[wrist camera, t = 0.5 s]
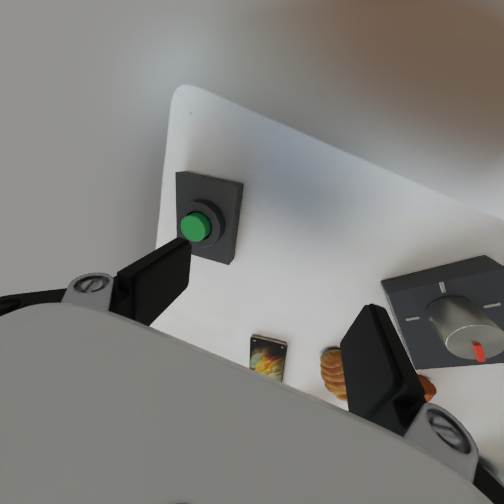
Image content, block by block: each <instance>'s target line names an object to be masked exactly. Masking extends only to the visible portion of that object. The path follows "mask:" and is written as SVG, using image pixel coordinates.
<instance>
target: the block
mask: <svg viewBox="0 0 504 504" xmlns="http://www.w3.org/2000/svg"><path fill="white" fill-rule="evenodd" d="M242 191H243V184H241V183H237V182H232V181H227V180H223V179H218V178H213V177H209V176H204V175H199V174H195V173H190V172H185V171H183V172H176V213H177V237H181V238H184V239H187V238H186V237H185V236H184V234H183V233H182V230H181V221H182V219H183V218H184V217H186V216H188V215H190V214H192V213H195V212H198V213H202V214H203V215H205V216H206V217H207V218H208V220H209V221H210V224H211V230H210V233H209V234H208V235H207V236H206V237H205V238H203V239H202V240H201V241H197V242H194V241H191V240H189V239H187V240H189V241H190V244H192V251H191V254H192V255H196V256H199V257H202V258H206V259H209V260H213V261H216V262H220V263H223V264H227V265H229V264H230V263H231V262H232V260H233V259H234V252H235V244H236V237H237V229H238V221H239V214H240V206H241V199H242Z"/></svg>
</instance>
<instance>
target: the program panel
mask: <svg viewBox="0 0 504 504" xmlns="http://www.w3.org/2000/svg"><path fill="white" fill-rule="evenodd" d="M381 284H382V287H383V289H384V292H385V295H386V297H387V300H388V303H389V305H390V308H391V311H392V313H393V316H394V319H395V321H396V324H397V327H398V329H399V332H400V335H401V337H402V340H403V343H404V345H405V348H406V351H407V353H408V355H409V357H410V359H411V361H412V364H413V366H414V368H415V369H416V370H418V369H431V368H444V367H456V366H469V365H482V364H495V363H504V351H503V352H501V353H500V354H498V355H496V356H493V357H490V358H486V359H485V360H486V362H478V361H477V360H472V359H465V358H461V357H458V356H456V355H454V354H452V353H451V352H450V351H449V350H448V349H447V347H446V346H445V344H444V343H443V341H442V340H441V339H440V337H439V336H438V334H437V333H436V331H435V330H434V328H433V327H432V326H431V324H430V323H429V321H428V320H427V318H426V315H425V312H426V309H427V307H428V306H429V305H430V304H431V303H432V302H433V301H435V300H437V299H440V298H443V297H448V296H458V297H463V298H466V299H468V300H470V301H471V302H472V303H474V304H475V305H476V306H477V307H478V308H479V309H480V310H481V311H482V312H483V313H484V314H485V315H487V316H488V317H489V318H490V319H491V320H492V321H493V322H494V323H495V324H496V325H497V326H498V327H499V328H501V329H502V330H503V331H504V266H503V265H501V264H499V263H497V262H496V261H494V260H492V259H491V258H489V257H487V256H485V255H484V256H480V257H476V258H472V259H468V260H464V261H460V262H456V263H452V264H448V265H444V266H440V267H436V268H432V269H428V270H424V271H420V272H416V273H412V274H408V275H404V276H400V277H396V278H392V279H388V280H384V281H381Z"/></svg>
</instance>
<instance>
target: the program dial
mask: <svg viewBox="0 0 504 504" xmlns="http://www.w3.org/2000/svg"><path fill="white" fill-rule="evenodd" d="M425 315H426V318H427V320H428V321H429V323H430V324H431V326H432V327H433V328H434V330H435V331H436V333H437V334H438V336H439V337H440V339H441V340H442V341H443V343H444V344H445V346H446V347H447V349H448V350H449V351H450V352H451V353H452V354H454V355H456V356H458V357H461V358H465V359H472V360H477V361H478V362H486V360H485V359H486V358H490V357H493V356H496V355H498V354H500V353H501V352H503V351H504V331H503V330H502V329H501V328H499V327H498V326H497V325H496V324H495V323H494V322H493V321H492V320H491V319H490V318H489V317H488V316H487V315H485V314H484V313H483V312H482V311H481V310H480V309H479V308H478V307H477V306H476V305H475V304H474V303H472V302H471V301H470V300H468V299H466V298H463V297H458V296H448V297H443V298H440V299H437V300H435V301H433V302H432V303H431V304H430V305H429V306H428V307H427V309H426V312H425Z"/></svg>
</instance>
